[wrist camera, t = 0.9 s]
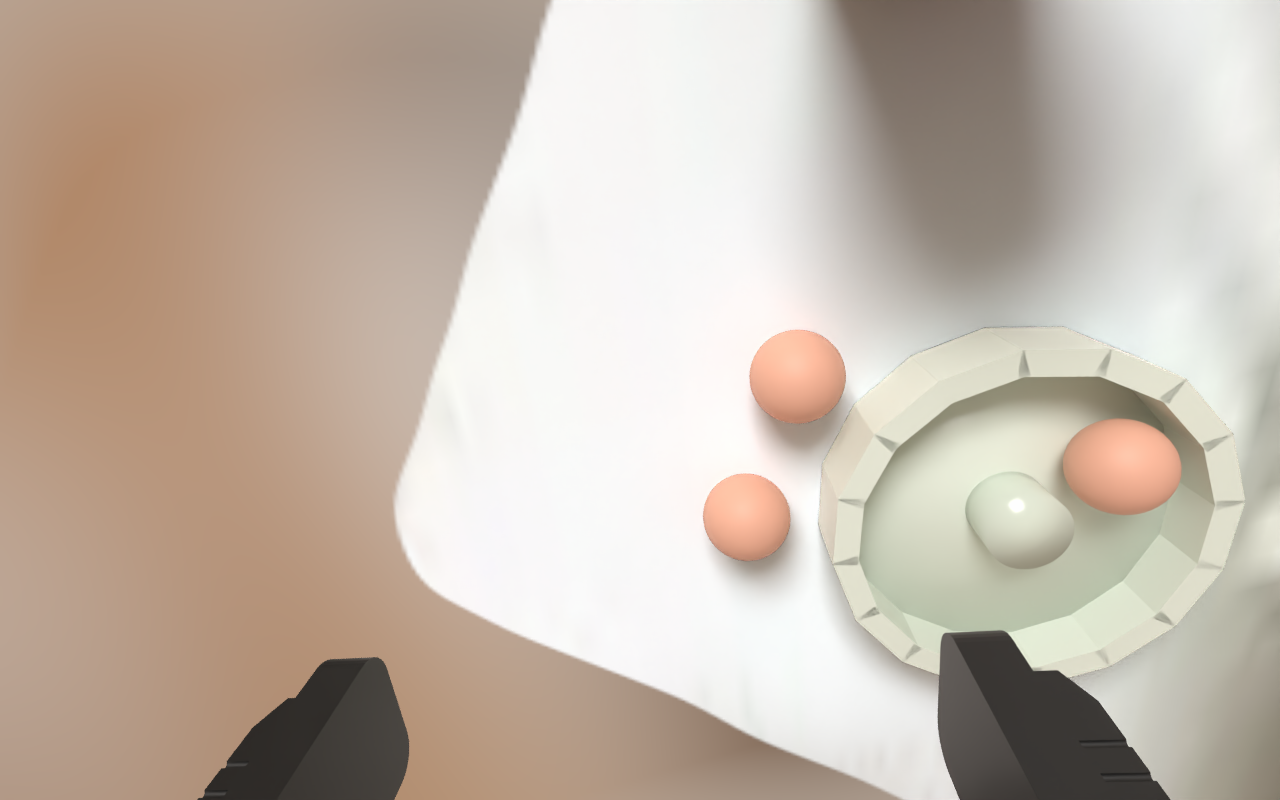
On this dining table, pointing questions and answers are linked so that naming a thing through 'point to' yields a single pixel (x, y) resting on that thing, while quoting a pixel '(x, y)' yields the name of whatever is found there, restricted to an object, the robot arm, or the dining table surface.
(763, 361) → the bead
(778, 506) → the peach orange ball
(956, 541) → the ring tray
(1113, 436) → the salmon orange ball
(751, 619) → the dining table surface
